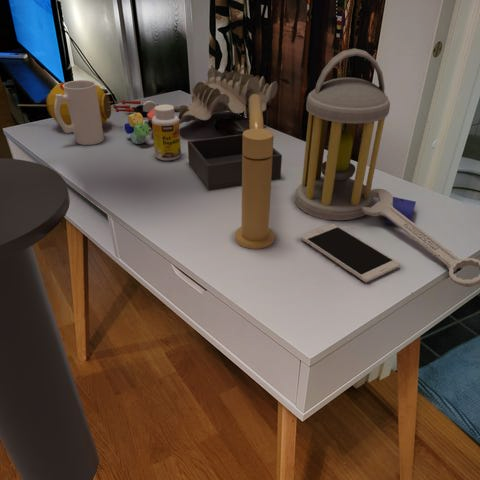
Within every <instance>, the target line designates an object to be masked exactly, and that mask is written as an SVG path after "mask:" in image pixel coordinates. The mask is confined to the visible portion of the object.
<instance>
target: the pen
mask: <svg viewBox="0 0 480 480" xmlns="http://www.w3.org/2000/svg"><path fill="white" fill-rule="evenodd" d="M172 106H173V107H174V112H180V108H181V106H182V105H172ZM136 107H137V106H132V107H131V106H130V109H134V112H133V113H136ZM125 109H127V108H125ZM144 112H145V111H144Z"/></svg>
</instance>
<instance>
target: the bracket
mask: <svg viewBox="0 0 480 480" xmlns="http://www.w3.org/2000/svg"><path fill="white" fill-rule="evenodd" d="M392 197H393V208H395V209H396V210H397V211H399V212H400V213H401V214H402V215H404V216H405V217H406V218H408V219H409V220H410V221H412V218H413V213H414V212H415V211H414V210H415V208H416V203H417V201H414V200H410V199H405V198H400V197H396V196H392ZM382 217H384V218H385V219H384V220H385V222H386V223H387V224H390V225H393V226H397V225H396V224H394V223H393V222H392V221H391V220H389V219H388V218H387V217H386V216H382Z"/></svg>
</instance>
